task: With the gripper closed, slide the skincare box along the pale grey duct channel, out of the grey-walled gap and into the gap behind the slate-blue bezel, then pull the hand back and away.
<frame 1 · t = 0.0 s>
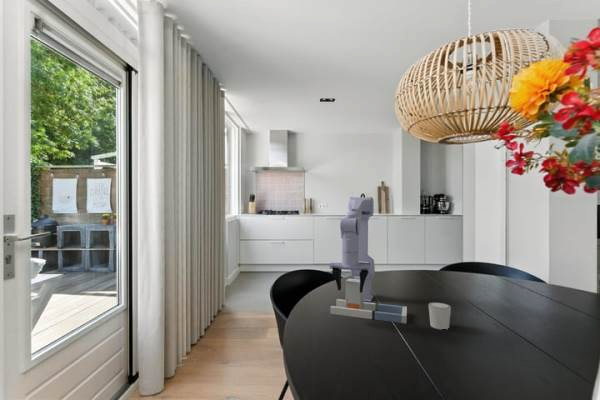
hand: (350, 290, 109), 10 cm above the table, tool pointing down, fingers open, 7 cm apart
skincare box: (354, 312, 118), resting in duct
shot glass: (439, 327, 104), on the table
duct: (368, 313, 116), on the table
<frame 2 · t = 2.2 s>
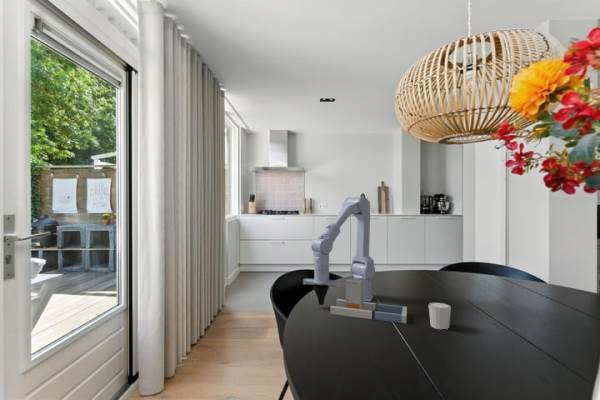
hand: (321, 304, 122), 1 cm above the table, tool pointing down, fingers closed
nothing on the table moved.
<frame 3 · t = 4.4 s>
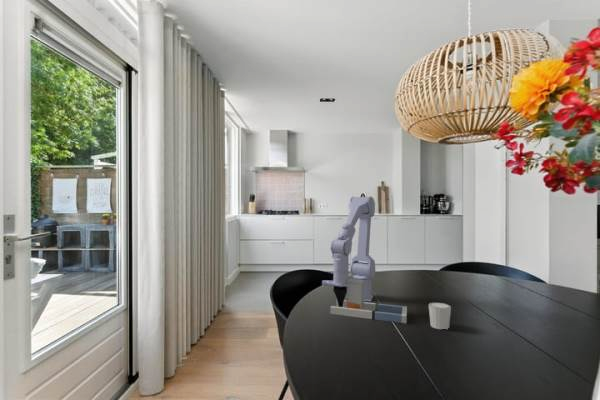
hand: (340, 306, 119), 1 cm above the table, tool pointing down, fingers closed
skincare box: (354, 312, 118), resting in duct, touching gripper
everything else where it was.
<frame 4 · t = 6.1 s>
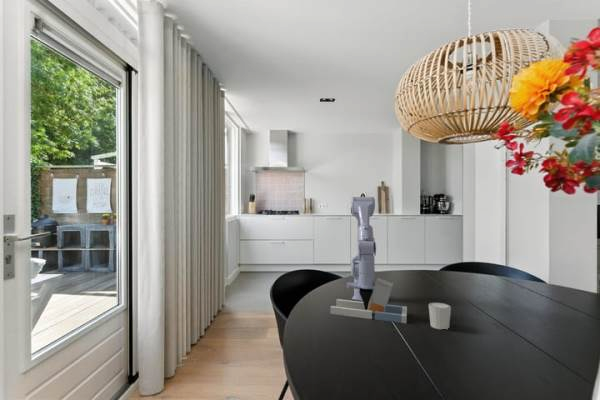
hand: (366, 309, 116), 1 cm above the table, tool pointing down, fingers closed
skincare box: (375, 312, 115), point 1 cm above the table, touching gripper
everything else where it was.
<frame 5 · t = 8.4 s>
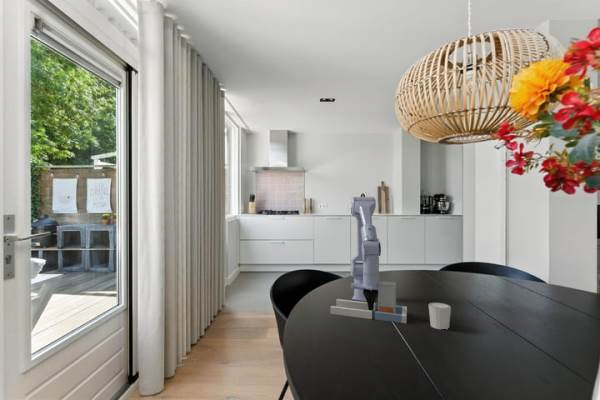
hand: (370, 310, 116), 1 cm above the table, tool pointing down, fingers closed
skincare box: (387, 316, 114), resting in duct, touching gripper
everything else where it was.
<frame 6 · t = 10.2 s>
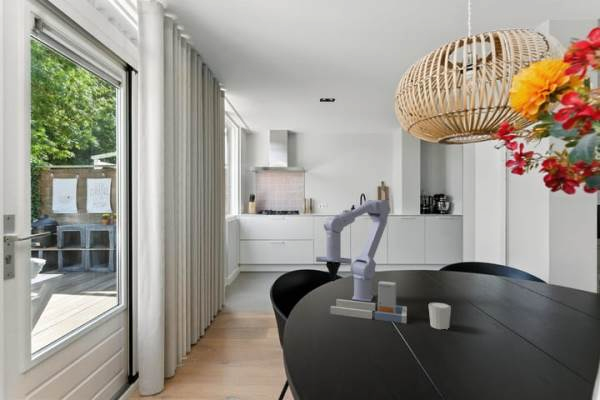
hand: (333, 280, 128), 9 cm above the table, tool pointing down, fingers closed
skincare box: (387, 316, 114), resting in duct
everything else where it was.
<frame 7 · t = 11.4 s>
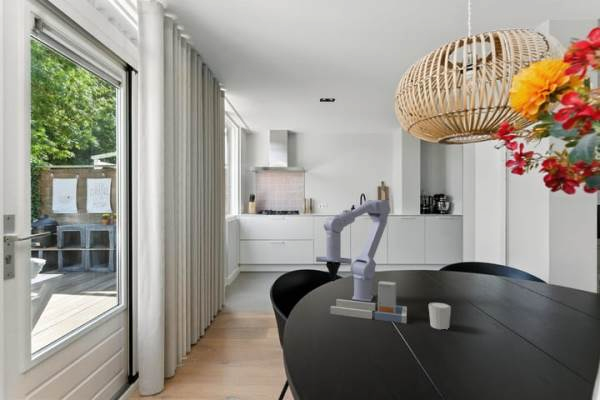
hand: (333, 280, 128), 9 cm above the table, tool pointing down, fingers closed
nothing on the table moved.
at the end: skincare box 0.8 cm from the target spot, resting in duct; skincare box tilted 0°; the gripper is holding nothing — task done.
